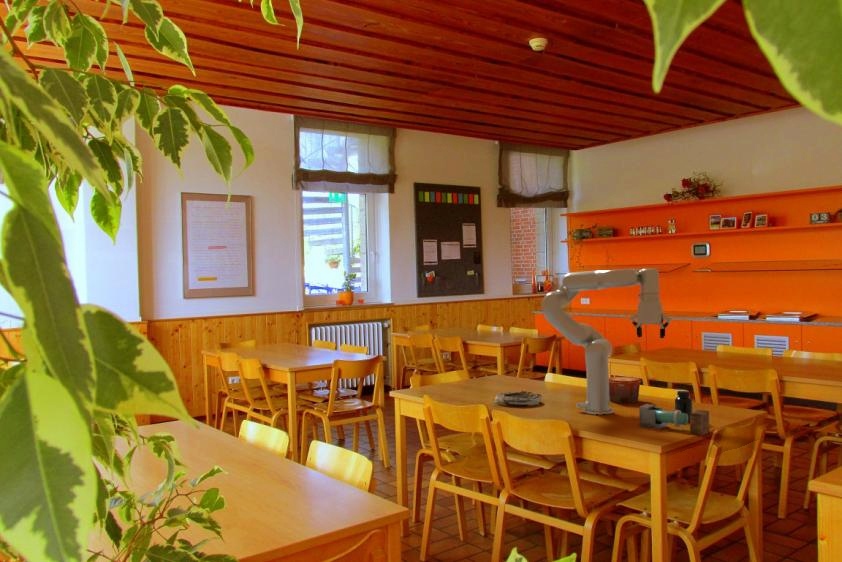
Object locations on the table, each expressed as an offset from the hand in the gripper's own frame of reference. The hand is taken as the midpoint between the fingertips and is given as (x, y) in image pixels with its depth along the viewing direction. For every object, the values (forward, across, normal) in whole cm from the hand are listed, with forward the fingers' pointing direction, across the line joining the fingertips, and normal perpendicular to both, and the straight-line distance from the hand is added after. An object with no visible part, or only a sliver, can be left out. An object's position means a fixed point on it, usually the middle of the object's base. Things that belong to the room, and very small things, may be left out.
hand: (650, 337), depth 304 cm
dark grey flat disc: (+34, -62, -4) cm, 71 cm away
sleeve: (+34, +7, -19) cm, 39 cm away
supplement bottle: (+34, +14, -1) cm, 36 cm away
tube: (+32, +13, -20) cm, 40 cm away
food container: (+34, -23, +25) cm, 48 cm away
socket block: (+34, +26, -20) cm, 47 cm away
